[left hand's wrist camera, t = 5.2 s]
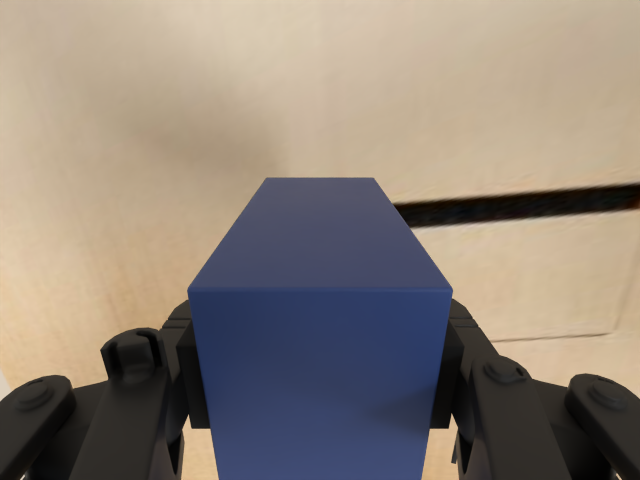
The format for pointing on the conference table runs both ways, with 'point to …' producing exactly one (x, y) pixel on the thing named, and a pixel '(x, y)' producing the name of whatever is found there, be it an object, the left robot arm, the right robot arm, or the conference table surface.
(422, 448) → the block
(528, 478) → the left robot arm
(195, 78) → the conference table surface
